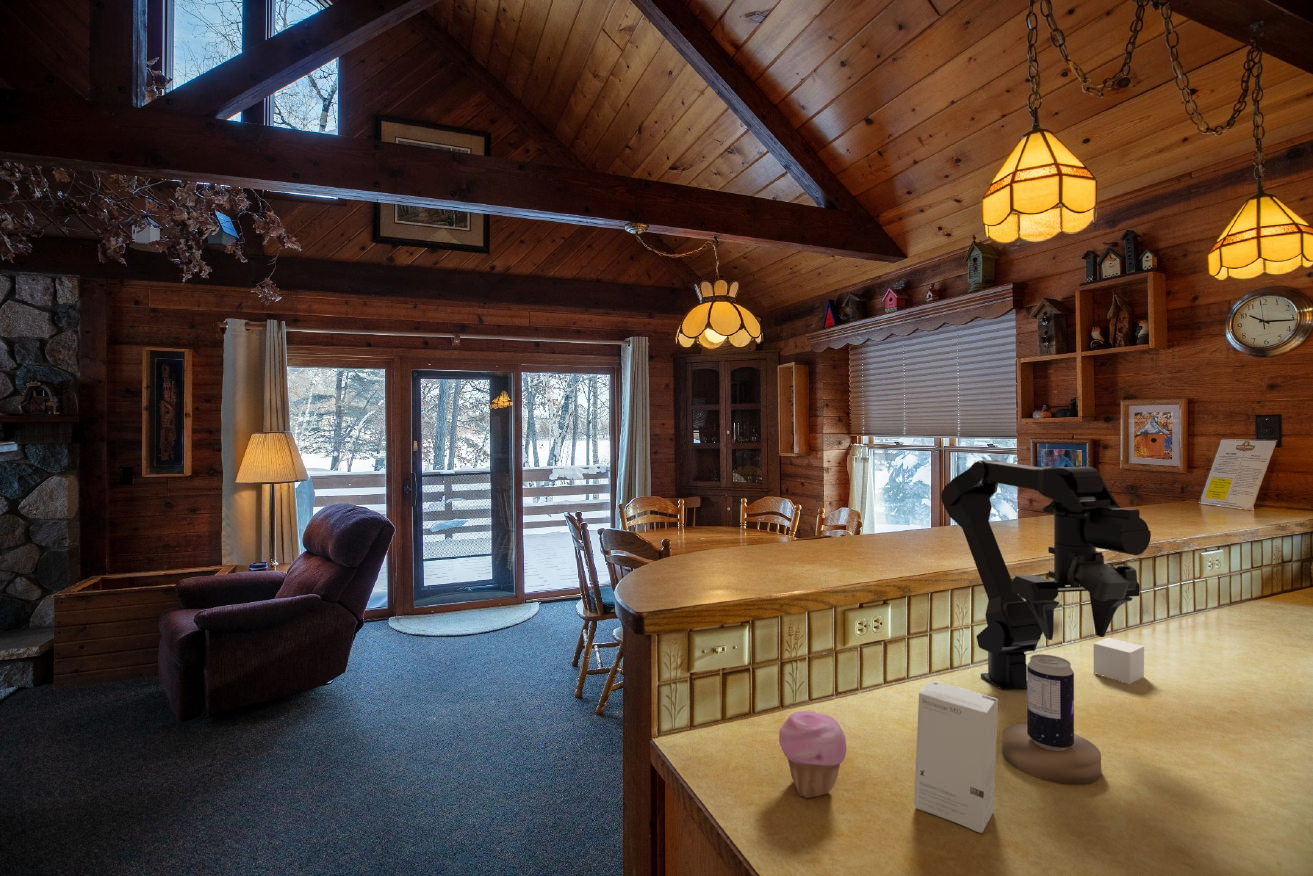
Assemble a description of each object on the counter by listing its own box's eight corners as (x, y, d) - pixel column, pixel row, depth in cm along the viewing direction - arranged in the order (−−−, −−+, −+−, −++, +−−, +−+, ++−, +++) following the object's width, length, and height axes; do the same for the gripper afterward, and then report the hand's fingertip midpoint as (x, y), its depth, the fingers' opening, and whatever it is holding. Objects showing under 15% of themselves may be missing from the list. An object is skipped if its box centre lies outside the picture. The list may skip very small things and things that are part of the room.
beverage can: (1081, 755, 87) (1081, 669, 86) (1035, 751, 88) (1035, 666, 88) (1064, 735, 92) (1064, 654, 92) (1021, 732, 94) (1021, 652, 93)
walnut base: (984, 742, 95) (984, 726, 95) (1057, 737, 97) (1057, 721, 97) (1041, 788, 84) (1041, 769, 83) (1123, 781, 85) (1123, 762, 85)
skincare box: (913, 809, 79) (913, 692, 79) (928, 788, 84) (928, 677, 84) (987, 836, 74) (986, 711, 74) (998, 812, 79) (998, 694, 78)
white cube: (1144, 677, 119) (1144, 646, 119) (1129, 685, 116) (1130, 652, 116) (1107, 667, 124) (1108, 637, 124) (1093, 674, 121) (1093, 643, 121)
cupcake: (772, 772, 88) (771, 701, 88) (832, 769, 89) (832, 699, 89) (790, 811, 79) (790, 732, 79) (857, 807, 80) (857, 729, 80)
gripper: (1059, 555, 94) (1059, 659, 94) (1171, 551, 96) (1171, 652, 96) (1009, 542, 105) (1009, 634, 105) (1110, 538, 107) (1110, 629, 108)
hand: (1074, 637), depth 103 cm, fingers open, 9 cm apart
